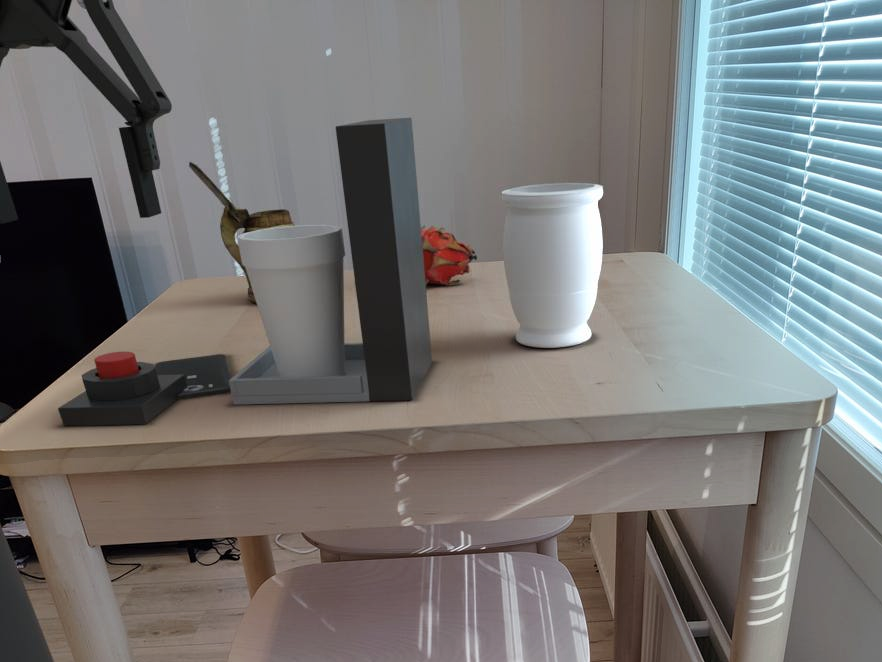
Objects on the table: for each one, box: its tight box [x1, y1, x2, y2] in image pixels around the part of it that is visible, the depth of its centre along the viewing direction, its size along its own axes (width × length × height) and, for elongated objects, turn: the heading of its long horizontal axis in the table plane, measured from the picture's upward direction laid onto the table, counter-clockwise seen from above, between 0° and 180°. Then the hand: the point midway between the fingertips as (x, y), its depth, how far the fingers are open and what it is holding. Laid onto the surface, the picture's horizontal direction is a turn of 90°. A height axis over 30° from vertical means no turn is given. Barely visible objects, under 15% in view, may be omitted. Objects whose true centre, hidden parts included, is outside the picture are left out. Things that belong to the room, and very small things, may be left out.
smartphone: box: [154, 353, 232, 401], centre depth 90 cm, size 8×15×1 cm, turn 17°
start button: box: [93, 351, 139, 378], centre depth 80 cm, size 4×4×2 cm
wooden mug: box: [188, 161, 296, 305], centre depth 119 cm, size 9×14×18 cm, turn 111°
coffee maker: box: [229, 117, 433, 406], centre depth 80 cm, size 17×13×22 cm
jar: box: [501, 182, 604, 349], centre depth 91 cm, size 11×10×15 cm
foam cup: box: [236, 224, 346, 378], centre depth 82 cm, size 10×9×13 cm
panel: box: [57, 361, 187, 427], centre depth 81 cm, size 8×10×4 cm
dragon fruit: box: [421, 224, 478, 287], centre depth 125 cm, size 8×8×12 cm
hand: (77, 219), depth 74 cm, fingers open, 12 cm apart
